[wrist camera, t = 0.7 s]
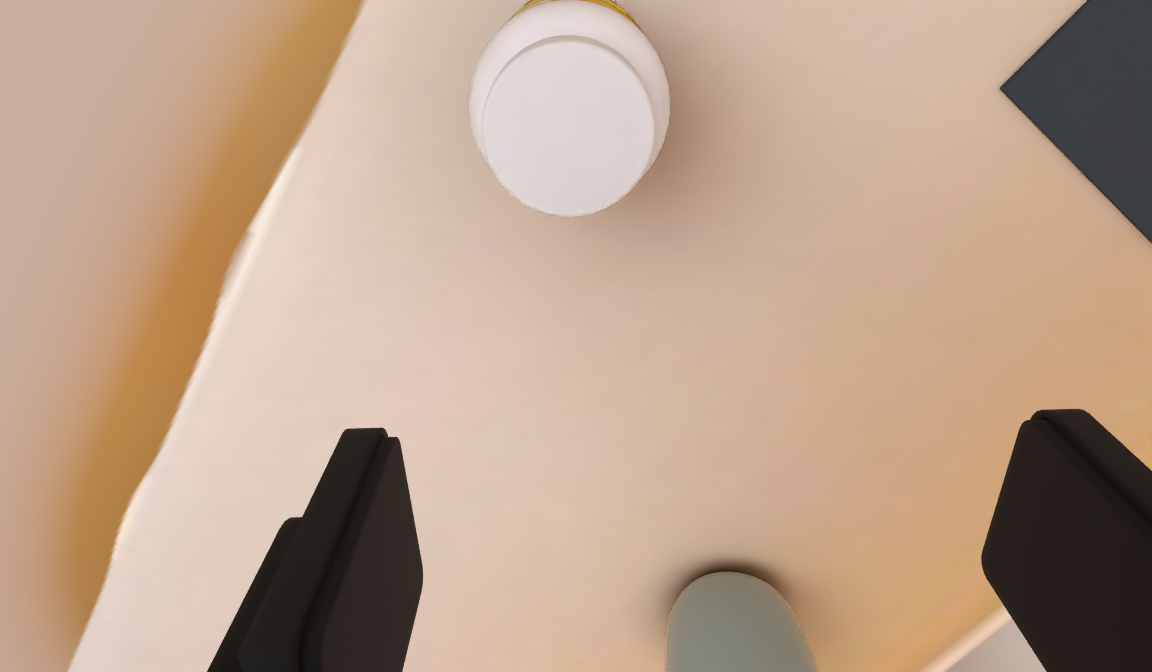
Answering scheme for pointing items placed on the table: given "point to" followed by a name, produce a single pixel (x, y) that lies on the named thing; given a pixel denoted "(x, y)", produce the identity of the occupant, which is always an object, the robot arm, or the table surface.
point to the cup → (734, 628)
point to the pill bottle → (569, 105)
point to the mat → (1098, 99)
